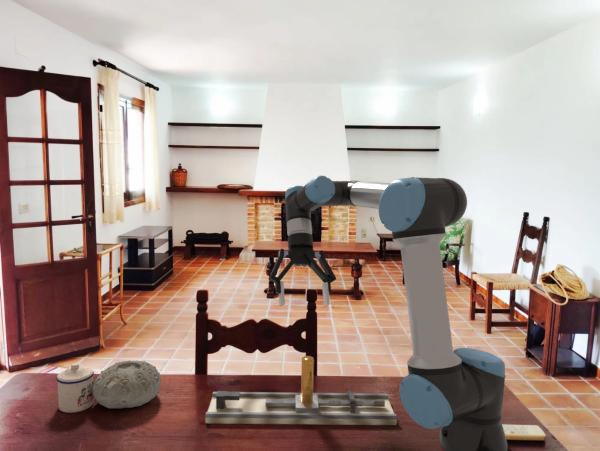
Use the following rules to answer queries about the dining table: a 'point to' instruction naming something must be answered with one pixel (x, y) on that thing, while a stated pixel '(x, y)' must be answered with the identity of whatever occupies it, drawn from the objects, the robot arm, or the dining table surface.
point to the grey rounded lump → (127, 384)
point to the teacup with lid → (75, 388)
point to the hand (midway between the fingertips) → (304, 305)
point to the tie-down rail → (254, 411)
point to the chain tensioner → (310, 401)
